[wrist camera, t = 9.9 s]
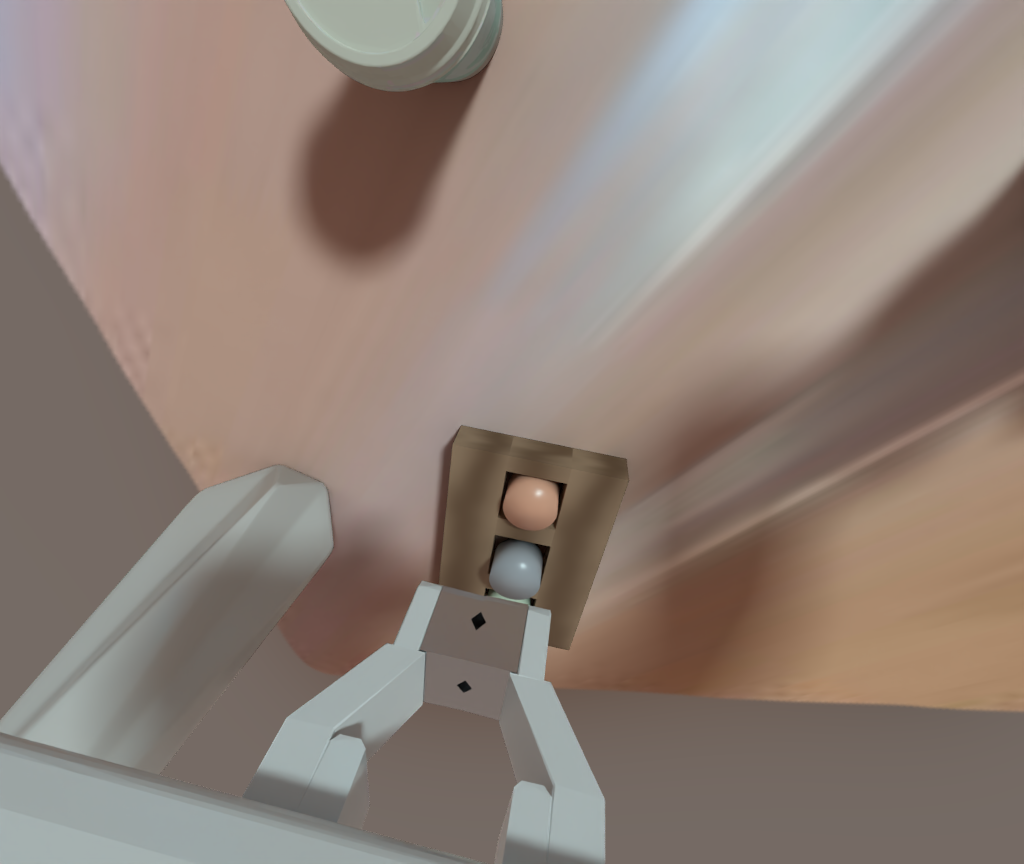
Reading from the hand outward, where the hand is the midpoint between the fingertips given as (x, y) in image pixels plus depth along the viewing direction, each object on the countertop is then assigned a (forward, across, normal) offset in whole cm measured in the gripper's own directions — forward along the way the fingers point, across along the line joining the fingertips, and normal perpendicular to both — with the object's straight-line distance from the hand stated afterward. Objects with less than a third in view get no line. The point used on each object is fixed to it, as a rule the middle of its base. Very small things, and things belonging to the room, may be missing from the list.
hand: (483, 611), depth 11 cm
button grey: (+24, 0, +23) cm, 33 cm away
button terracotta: (+25, 0, +16) cm, 30 cm away
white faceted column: (+26, +22, +24) cm, 41 cm away
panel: (+26, 0, +23) cm, 35 cm away
